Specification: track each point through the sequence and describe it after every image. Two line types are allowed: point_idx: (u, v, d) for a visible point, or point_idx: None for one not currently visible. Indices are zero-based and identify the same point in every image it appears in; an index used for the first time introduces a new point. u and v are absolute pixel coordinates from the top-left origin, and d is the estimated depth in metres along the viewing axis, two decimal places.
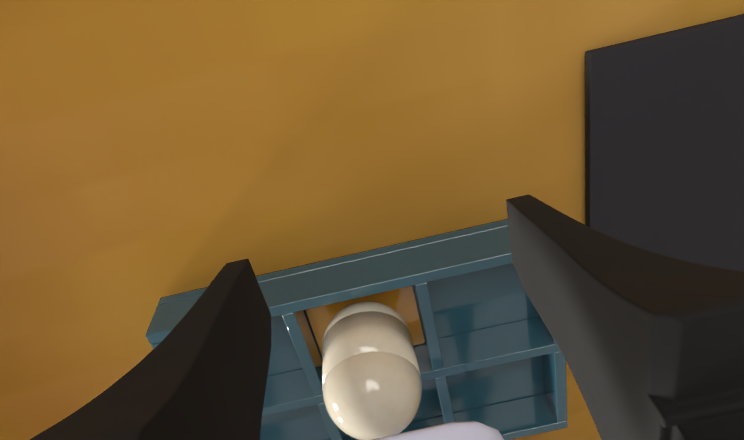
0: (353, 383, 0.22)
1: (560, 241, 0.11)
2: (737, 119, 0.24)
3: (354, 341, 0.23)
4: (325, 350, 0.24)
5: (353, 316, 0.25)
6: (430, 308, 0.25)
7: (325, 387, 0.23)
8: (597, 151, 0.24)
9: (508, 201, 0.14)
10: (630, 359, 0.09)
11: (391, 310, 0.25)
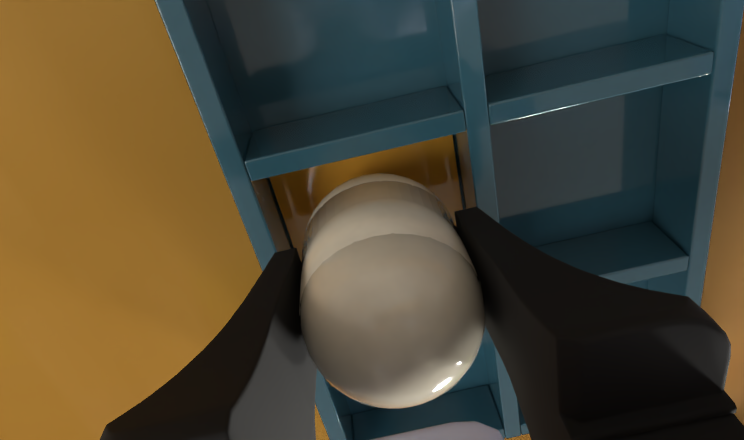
0: (325, 378, 0.12)
1: (494, 256, 0.11)
2: None
3: None
4: None
5: None
6: (303, 151, 0.13)
7: None
8: None
9: (455, 213, 0.14)
10: (545, 377, 0.09)
11: (315, 208, 0.15)
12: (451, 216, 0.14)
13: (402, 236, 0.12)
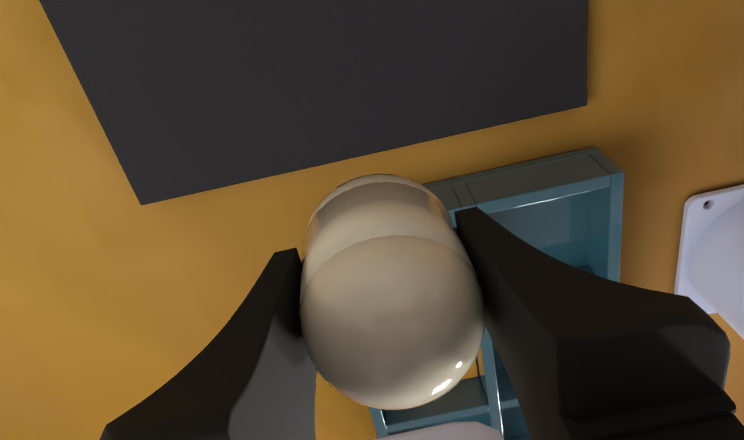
0: (325, 379, 0.12)
1: (494, 256, 0.11)
2: (182, 25, 0.20)
3: None
4: None
5: None
6: None
7: None
8: (238, 176, 0.23)
9: (455, 213, 0.14)
10: (545, 377, 0.09)
11: (315, 209, 0.15)
12: (451, 217, 0.14)
13: (402, 238, 0.12)
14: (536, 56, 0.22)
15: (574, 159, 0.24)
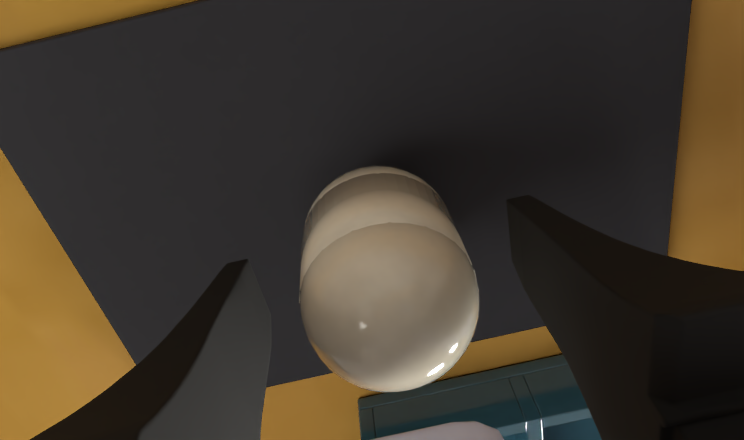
0: (324, 363, 0.12)
1: (560, 241, 0.11)
2: (214, 246, 0.18)
3: None
4: None
5: None
6: None
7: None
8: (273, 380, 0.21)
9: (508, 201, 0.14)
10: (630, 359, 0.09)
11: (314, 200, 0.15)
12: (447, 208, 0.15)
13: (398, 225, 0.12)
14: None
15: None
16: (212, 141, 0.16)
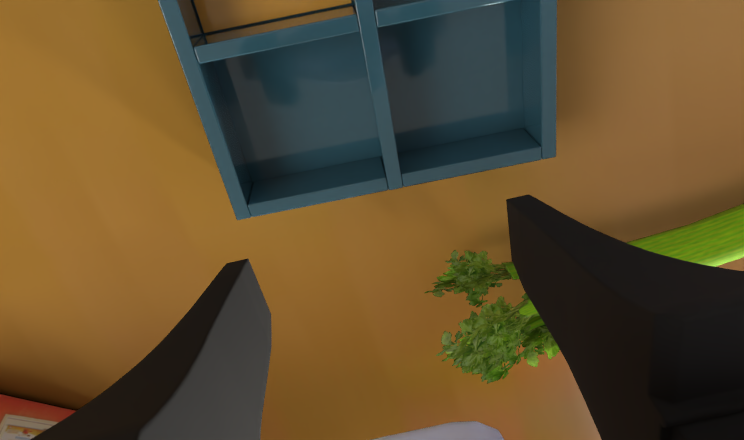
0: None
1: (560, 241, 0.11)
2: None
3: None
4: None
5: None
6: None
7: None
8: None
9: (508, 201, 0.14)
10: (630, 359, 0.09)
11: None
12: None
13: None
14: None
15: None
16: None
